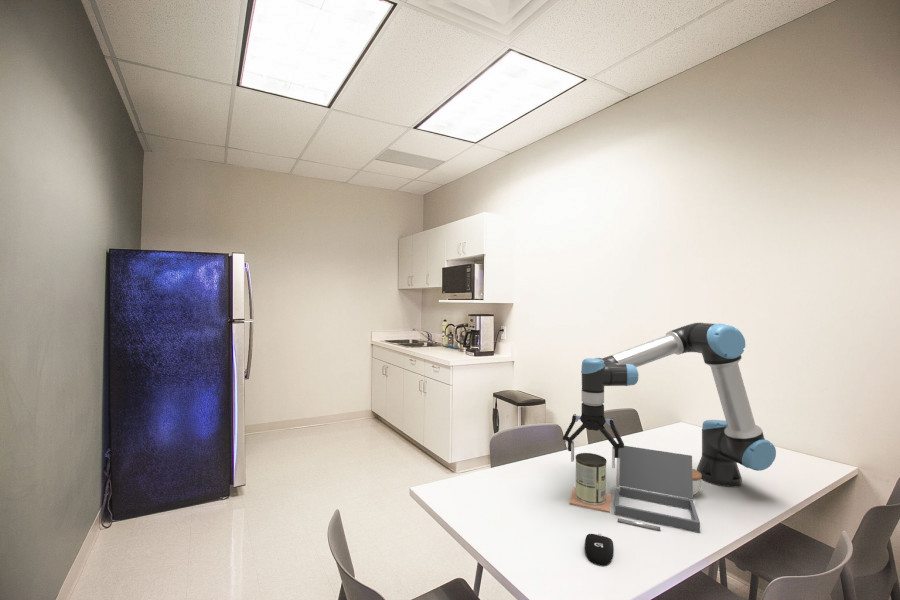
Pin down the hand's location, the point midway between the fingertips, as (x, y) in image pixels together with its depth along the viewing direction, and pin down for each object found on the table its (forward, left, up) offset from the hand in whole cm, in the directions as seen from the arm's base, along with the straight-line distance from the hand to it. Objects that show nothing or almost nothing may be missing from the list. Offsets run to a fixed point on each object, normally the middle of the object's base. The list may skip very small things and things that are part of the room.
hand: (592, 463), depth 143 cm
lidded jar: (-31, -22, -13) cm, 40 cm away
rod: (-15, +11, -13) cm, 22 cm away
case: (-19, -3, -13) cm, 24 cm away
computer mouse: (-4, +31, -13) cm, 34 cm away
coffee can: (+1, 0, -12) cm, 12 cm away
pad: (0, 0, -13) cm, 13 cm away
